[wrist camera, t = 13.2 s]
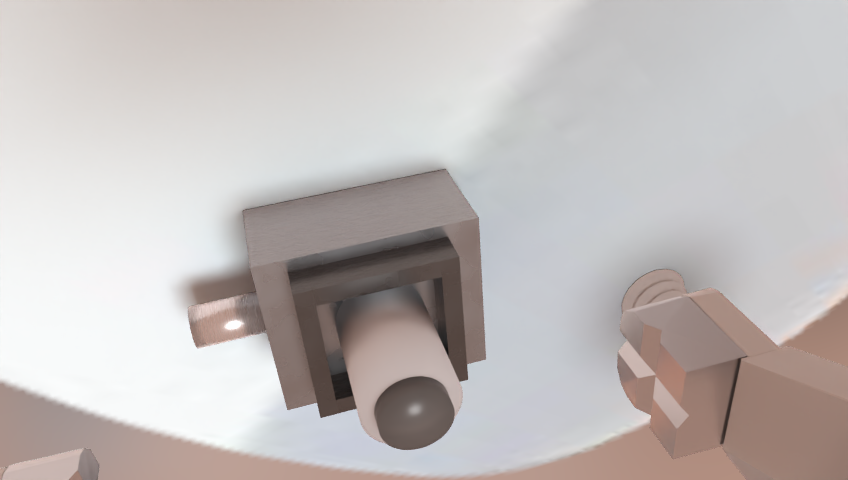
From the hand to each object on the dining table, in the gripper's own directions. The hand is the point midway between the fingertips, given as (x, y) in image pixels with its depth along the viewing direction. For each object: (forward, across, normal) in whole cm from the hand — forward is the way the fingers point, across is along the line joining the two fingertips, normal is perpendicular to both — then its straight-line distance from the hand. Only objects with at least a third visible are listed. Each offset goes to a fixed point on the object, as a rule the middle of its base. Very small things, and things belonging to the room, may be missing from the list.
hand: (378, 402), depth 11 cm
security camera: (+23, -3, +17) cm, 29 cm away
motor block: (+29, -1, +17) cm, 34 cm away
